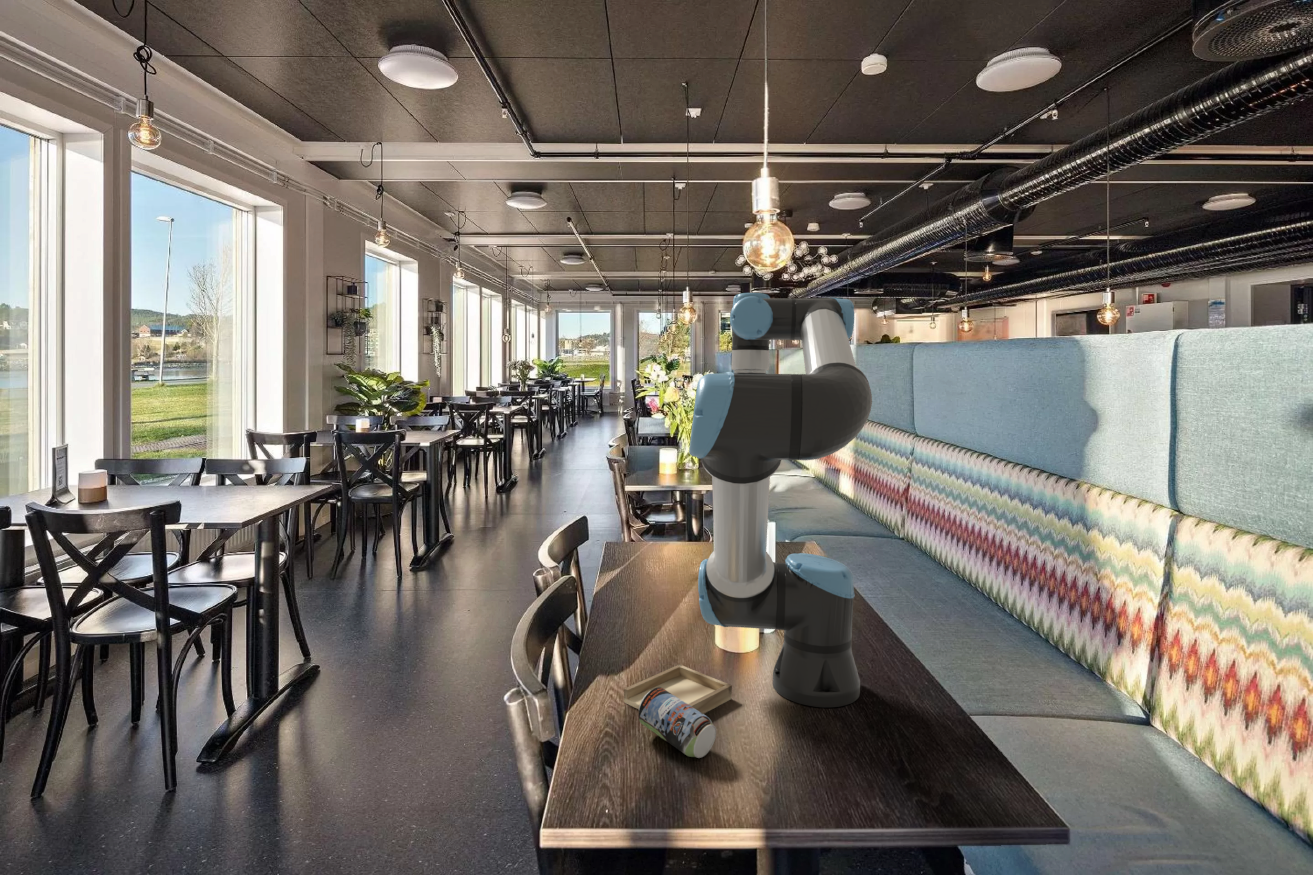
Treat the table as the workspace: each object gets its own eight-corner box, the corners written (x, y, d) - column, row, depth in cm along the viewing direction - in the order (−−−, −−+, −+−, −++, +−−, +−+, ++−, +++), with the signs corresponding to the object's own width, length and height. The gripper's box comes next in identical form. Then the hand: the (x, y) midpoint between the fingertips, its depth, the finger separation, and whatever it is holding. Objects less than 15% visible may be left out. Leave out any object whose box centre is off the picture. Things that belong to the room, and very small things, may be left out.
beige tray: (731, 698, 118) (731, 685, 117) (676, 728, 107) (677, 713, 107) (679, 676, 126) (679, 664, 126) (623, 702, 116) (624, 688, 115)
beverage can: (659, 677, 108) (720, 702, 100) (661, 720, 109) (722, 748, 101) (631, 694, 103) (693, 722, 95) (634, 739, 105) (695, 770, 97)
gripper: (753, 372, 145) (750, 482, 147) (714, 371, 136) (712, 489, 138) (783, 372, 140) (780, 486, 142) (745, 371, 131) (742, 494, 133)
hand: (746, 487), depth 140 cm, fingers closed
